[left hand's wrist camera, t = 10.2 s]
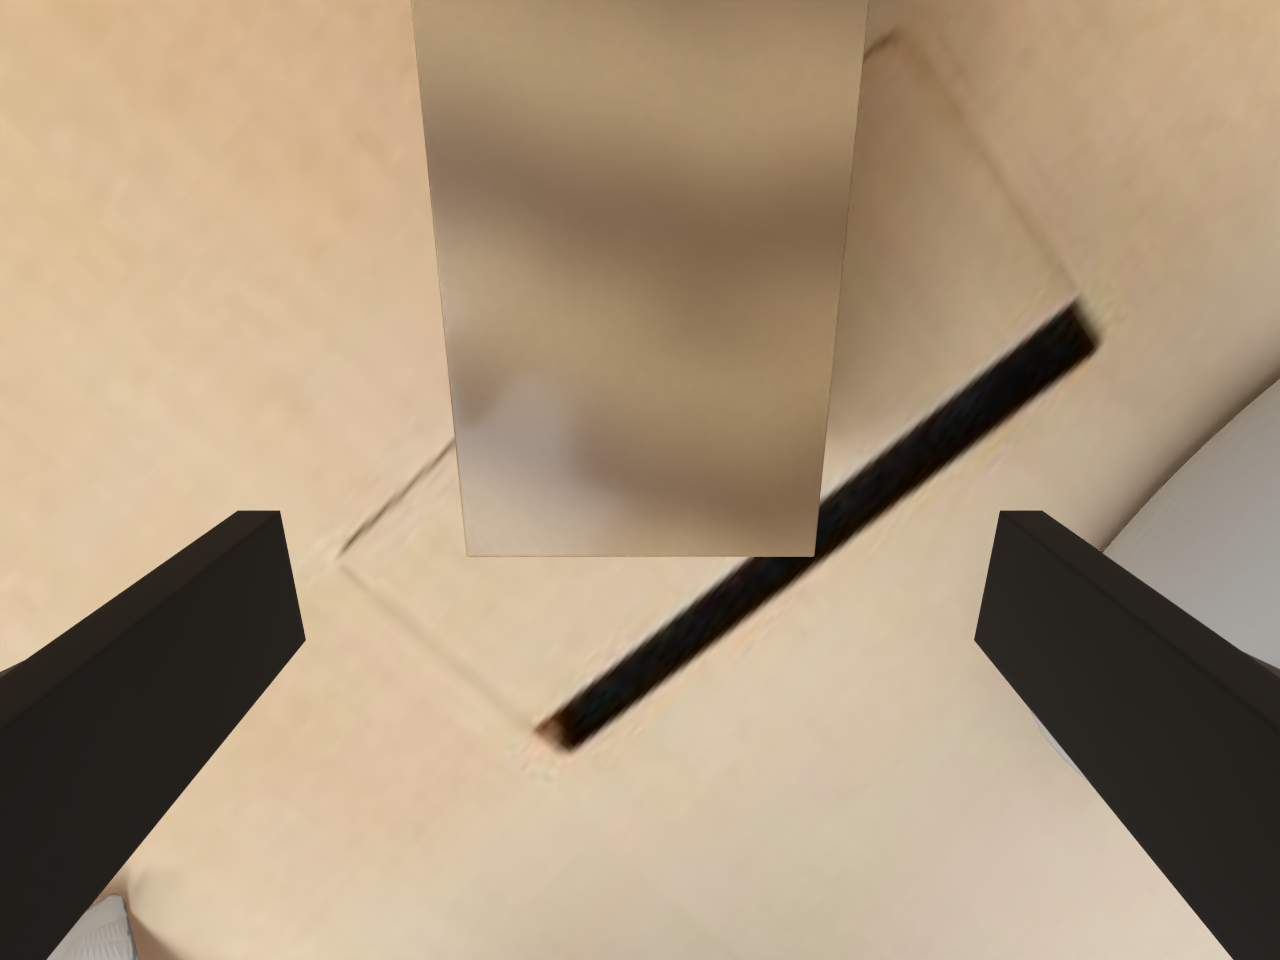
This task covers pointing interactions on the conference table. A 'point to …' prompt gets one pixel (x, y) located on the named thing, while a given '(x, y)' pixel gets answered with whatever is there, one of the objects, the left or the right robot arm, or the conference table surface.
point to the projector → (1217, 536)
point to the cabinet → (640, 265)
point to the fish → (99, 934)
